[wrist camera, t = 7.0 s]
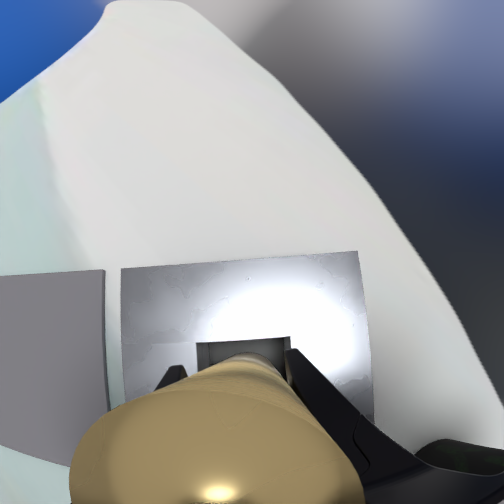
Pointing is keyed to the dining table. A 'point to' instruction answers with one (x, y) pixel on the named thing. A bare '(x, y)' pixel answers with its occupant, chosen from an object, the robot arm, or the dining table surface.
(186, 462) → the pin
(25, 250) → the dining table surface
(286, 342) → the grey square hole block
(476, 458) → the cup
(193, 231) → the dining table surface
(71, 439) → the mat
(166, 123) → the dining table surface
